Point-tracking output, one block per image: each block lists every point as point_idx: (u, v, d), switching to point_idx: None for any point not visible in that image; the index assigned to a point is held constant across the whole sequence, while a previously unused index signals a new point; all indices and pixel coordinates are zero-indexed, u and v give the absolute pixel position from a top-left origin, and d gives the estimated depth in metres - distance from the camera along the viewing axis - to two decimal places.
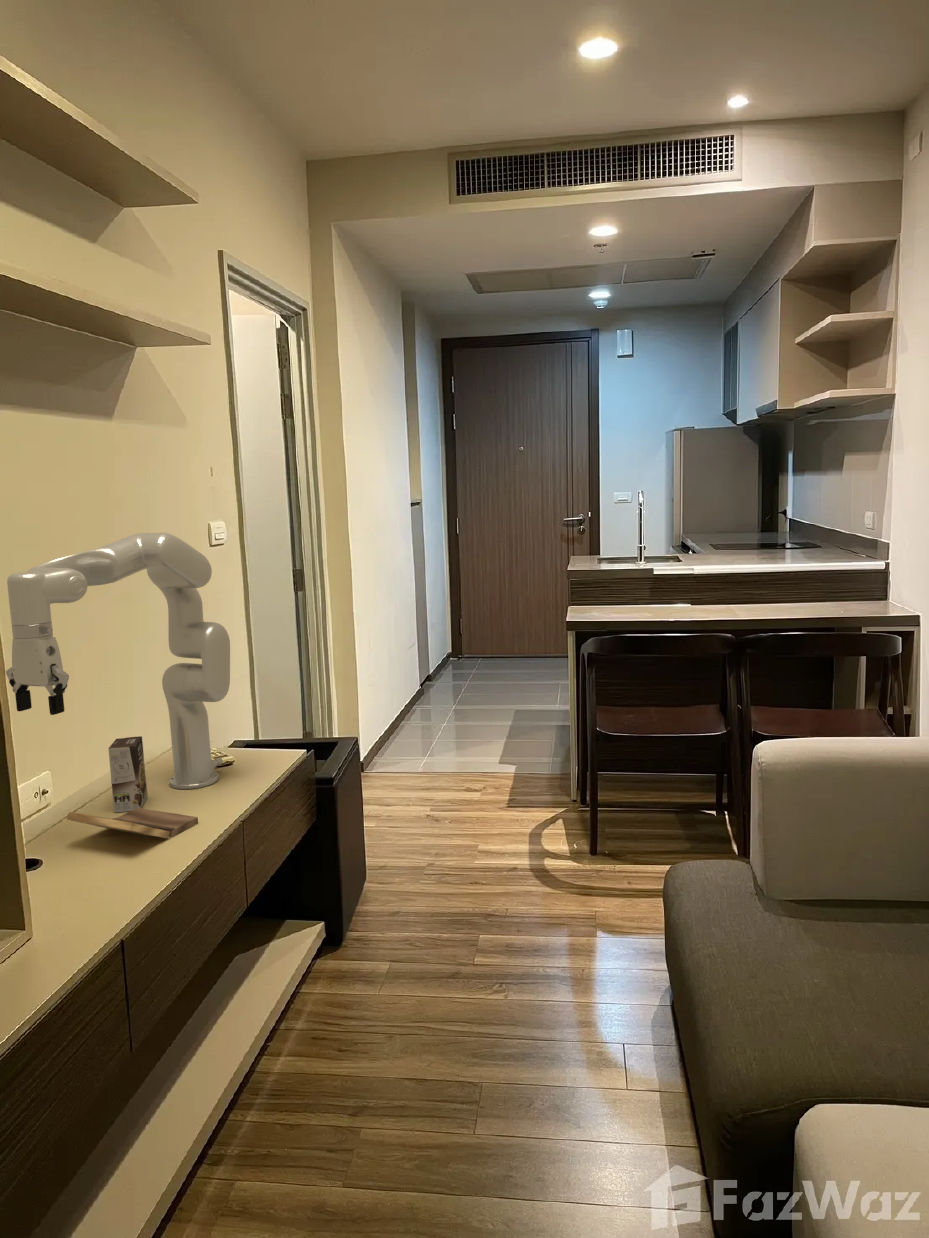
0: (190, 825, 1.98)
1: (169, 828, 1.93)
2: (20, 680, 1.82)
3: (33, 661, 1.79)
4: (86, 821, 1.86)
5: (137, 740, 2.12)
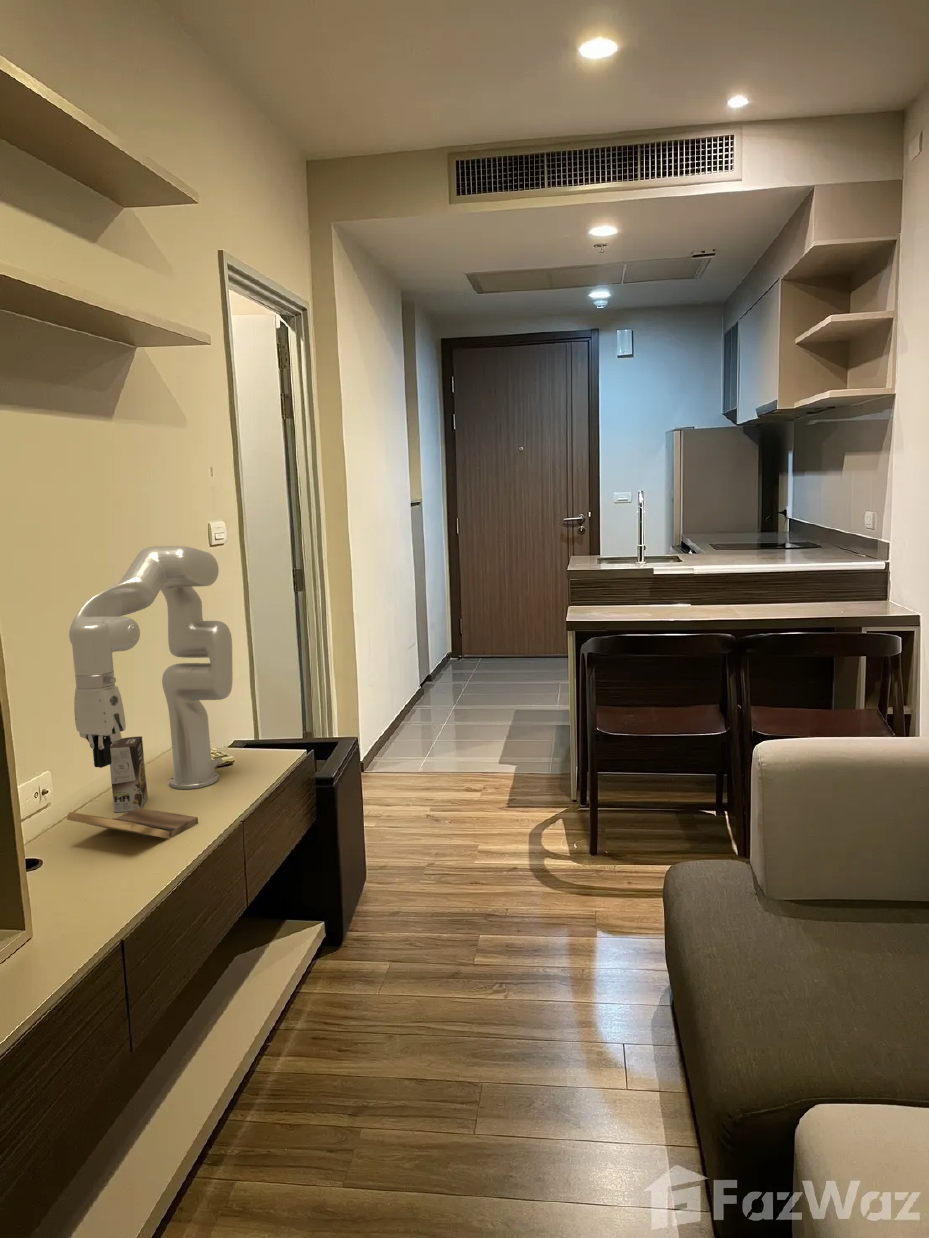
0: (190, 825, 1.98)
1: (169, 828, 1.93)
2: (83, 729, 1.84)
3: (97, 711, 1.81)
4: (86, 821, 1.86)
5: (137, 740, 2.12)
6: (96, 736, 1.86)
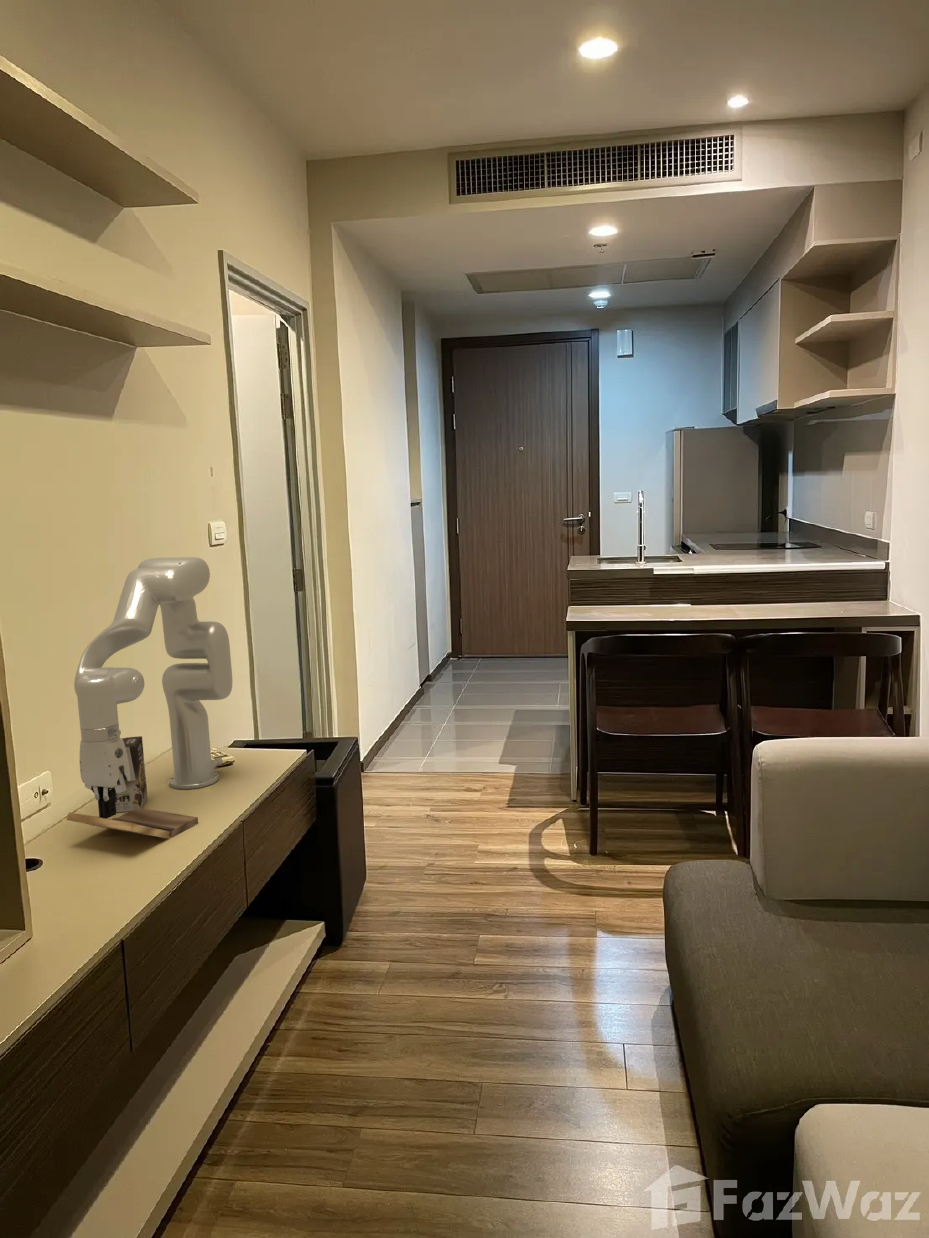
0: (190, 825, 1.98)
1: (169, 828, 1.93)
2: (88, 781, 1.85)
3: (102, 763, 1.82)
4: (86, 821, 1.86)
5: (137, 740, 2.12)
6: (101, 787, 1.88)
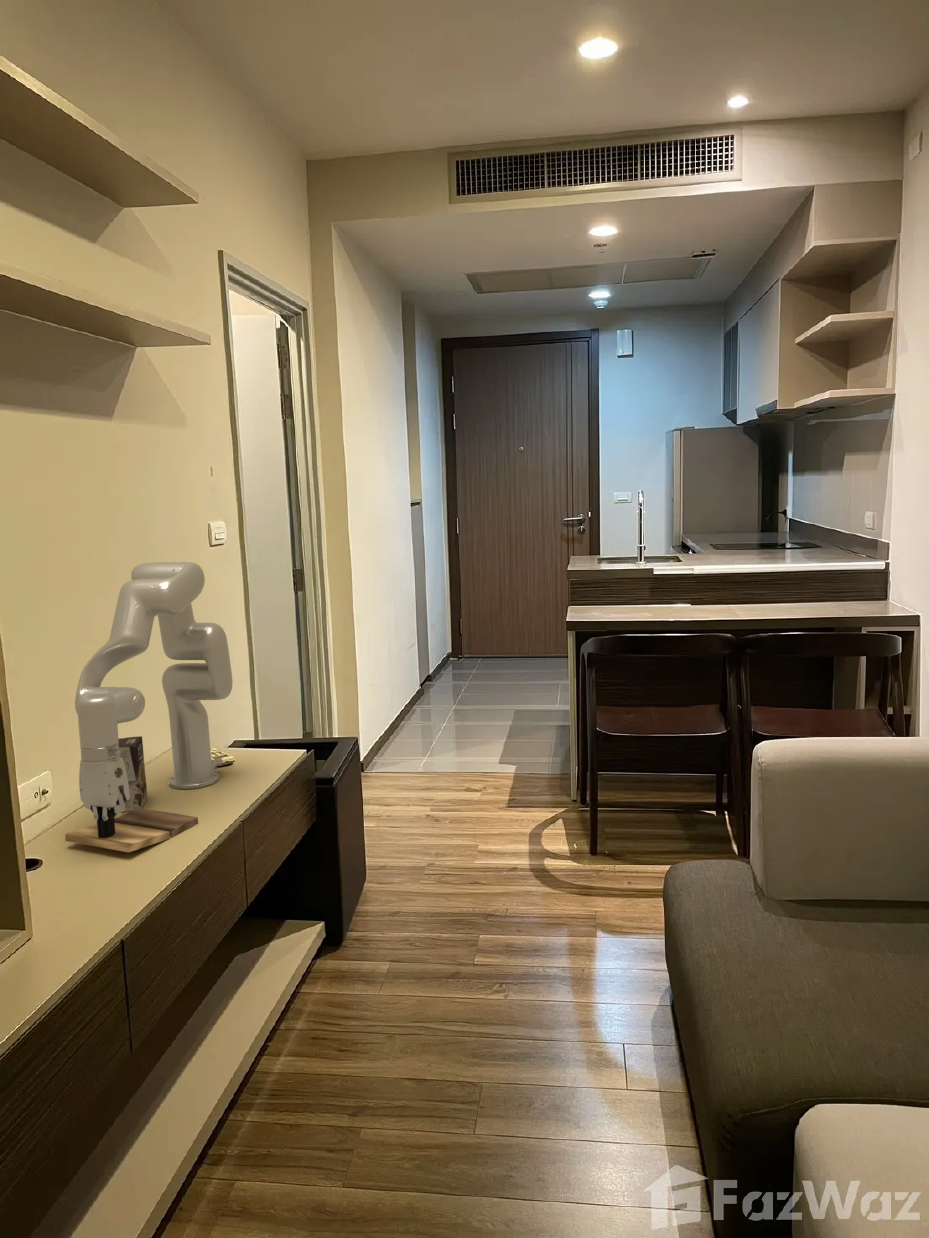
0: (190, 825, 1.98)
1: (169, 828, 1.93)
2: (87, 800, 1.85)
3: (101, 783, 1.82)
4: (84, 843, 1.86)
5: (137, 740, 2.12)
6: (100, 807, 1.88)
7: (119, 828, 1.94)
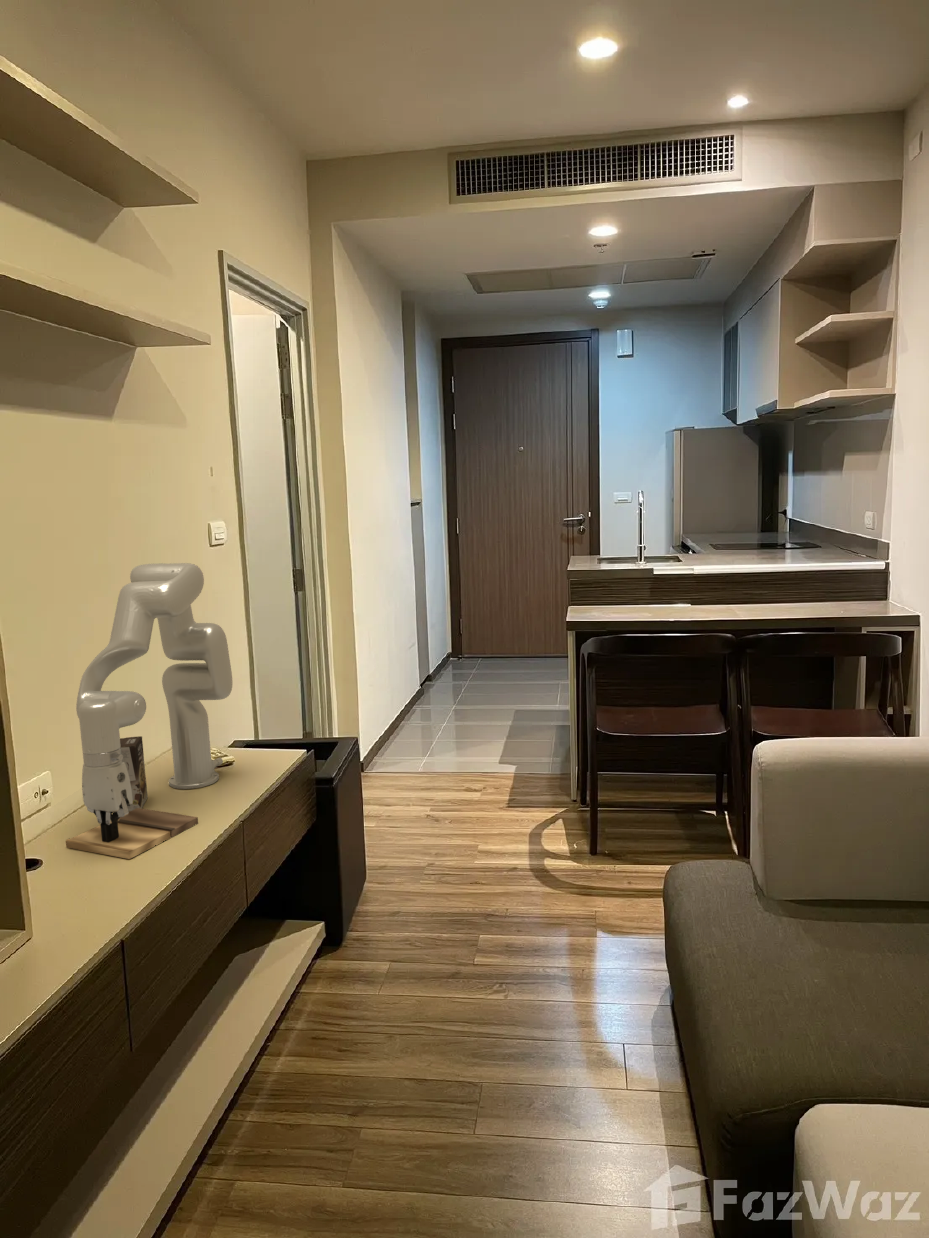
0: (190, 825, 1.98)
1: (169, 828, 1.93)
2: (90, 805, 1.86)
3: (104, 788, 1.83)
4: (85, 849, 1.86)
5: (137, 740, 2.12)
6: (103, 810, 1.89)
7: (119, 830, 1.94)
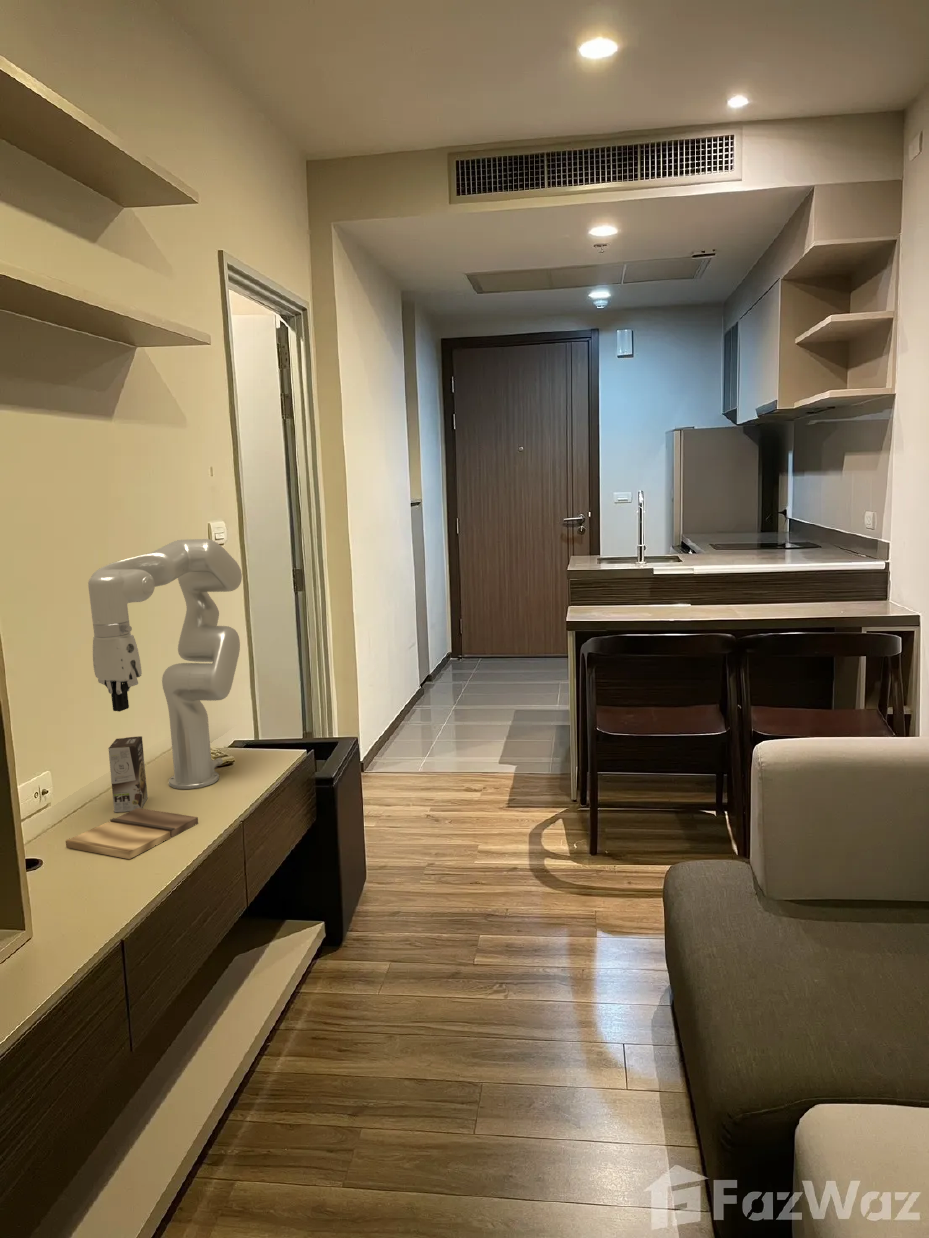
0: (190, 825, 1.98)
1: (169, 828, 1.93)
2: (101, 675, 1.95)
3: (114, 658, 1.92)
4: (85, 849, 1.86)
5: (137, 740, 2.12)
6: (114, 682, 1.97)
7: (119, 830, 1.94)
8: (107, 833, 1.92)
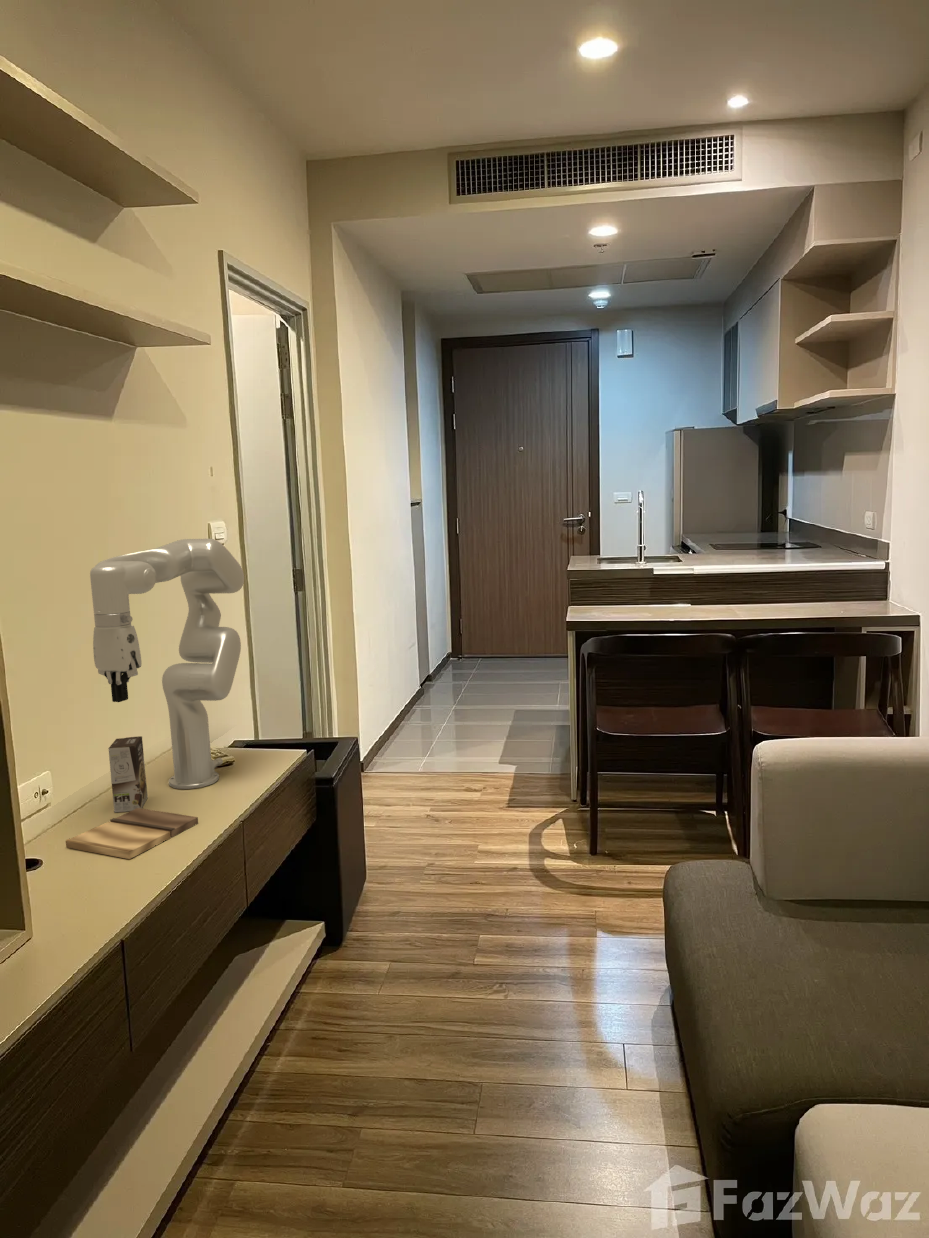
0: (190, 825, 1.98)
1: (169, 828, 1.93)
2: (101, 666, 1.95)
3: (114, 648, 1.93)
4: (85, 849, 1.86)
5: (137, 740, 2.12)
6: (114, 673, 1.98)
7: (119, 830, 1.94)
8: (107, 833, 1.92)
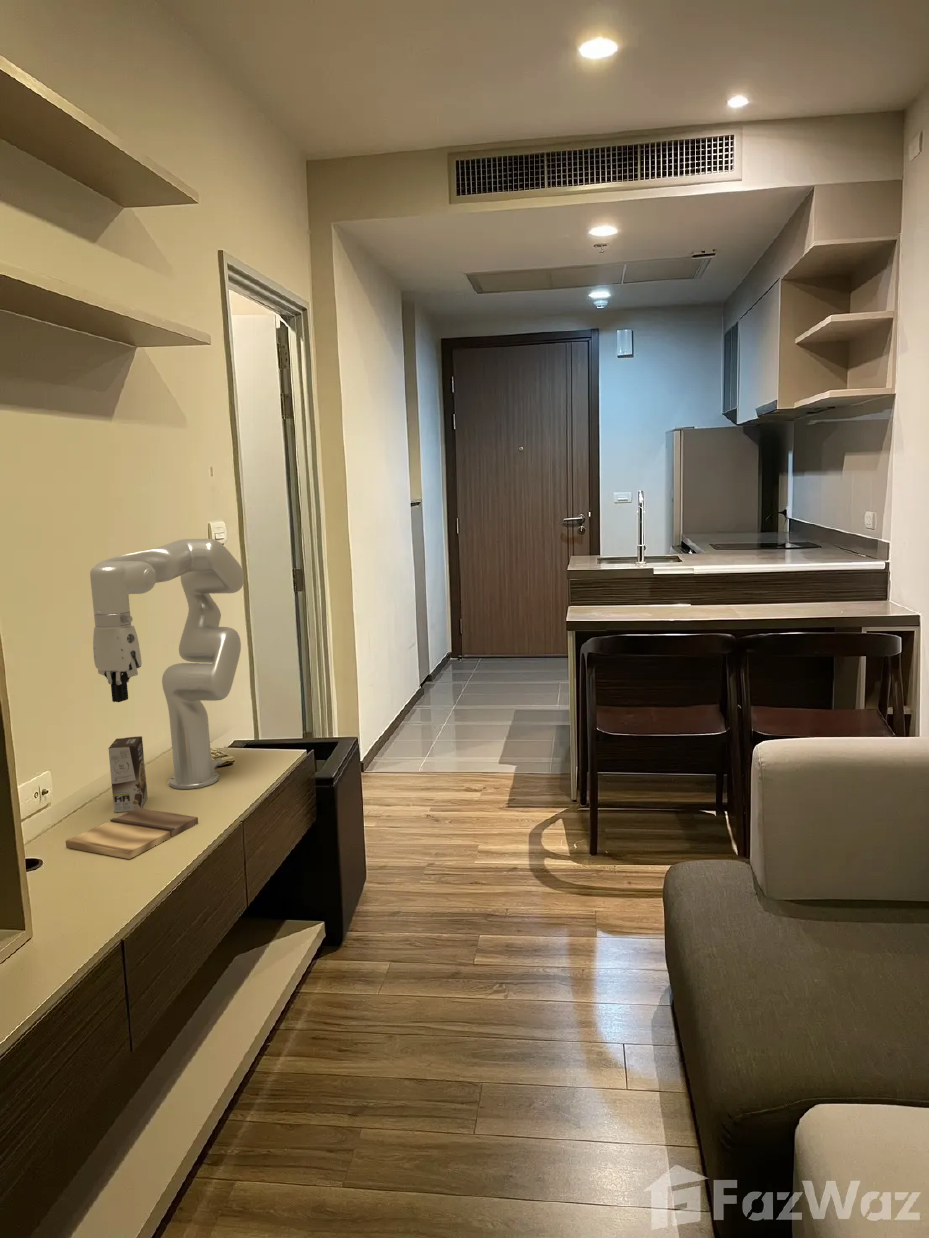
0: (190, 825, 1.98)
1: (169, 828, 1.93)
2: (101, 666, 1.95)
3: (115, 648, 1.93)
4: (85, 849, 1.86)
5: (137, 740, 2.12)
6: (114, 673, 1.98)
7: (119, 830, 1.94)
8: (107, 833, 1.92)
